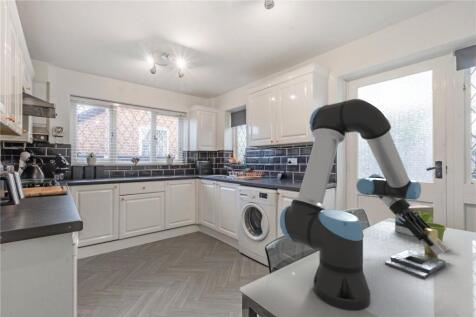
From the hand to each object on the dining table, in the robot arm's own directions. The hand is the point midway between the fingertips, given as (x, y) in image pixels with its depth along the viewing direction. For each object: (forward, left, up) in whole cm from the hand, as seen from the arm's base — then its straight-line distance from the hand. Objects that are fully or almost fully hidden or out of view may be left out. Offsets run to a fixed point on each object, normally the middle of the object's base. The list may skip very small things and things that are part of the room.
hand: (443, 252), depth 87 cm
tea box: (+31, +22, -4) cm, 38 cm away
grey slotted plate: (-12, +4, -3) cm, 13 cm away
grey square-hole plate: (-16, +4, -3) cm, 17 cm away
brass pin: (0, +4, -3) cm, 5 cm away
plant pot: (+20, +10, -4) cm, 23 cm away
